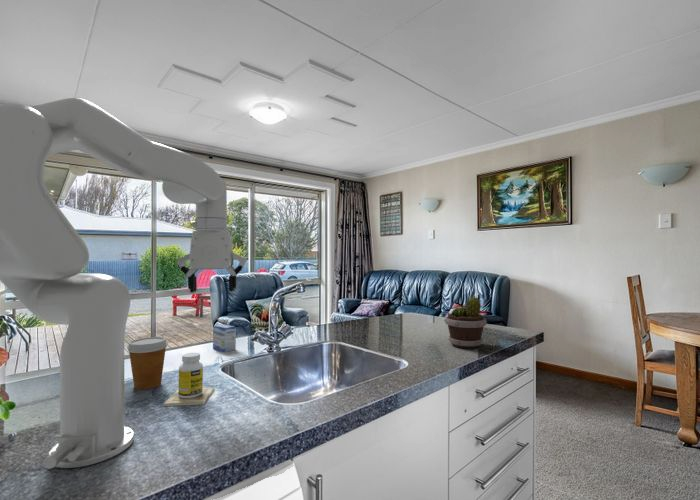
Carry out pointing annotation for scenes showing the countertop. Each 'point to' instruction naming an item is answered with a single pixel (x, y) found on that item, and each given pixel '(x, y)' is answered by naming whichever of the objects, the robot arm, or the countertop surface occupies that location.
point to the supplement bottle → (190, 376)
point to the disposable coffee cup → (147, 361)
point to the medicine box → (224, 337)
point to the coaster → (200, 399)
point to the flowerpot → (466, 324)
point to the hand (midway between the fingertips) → (212, 291)
